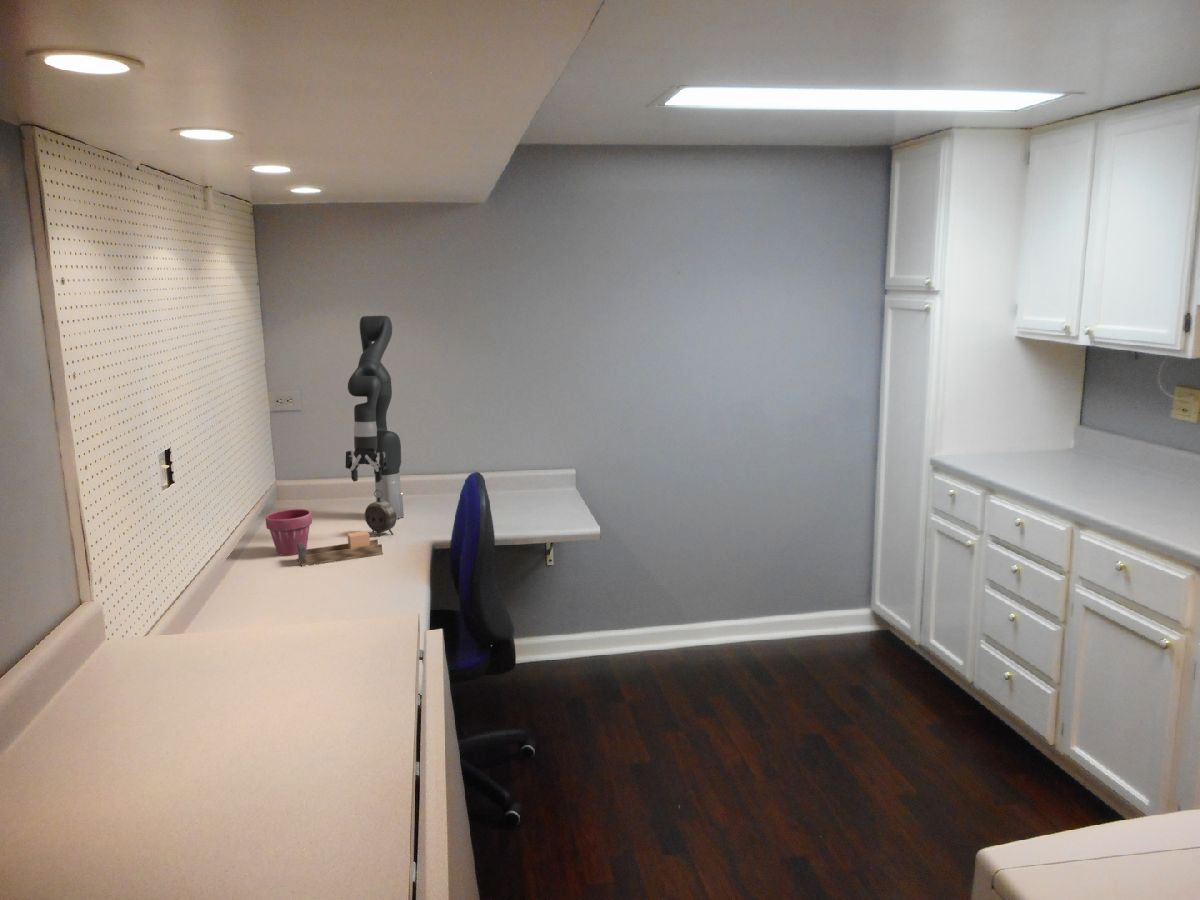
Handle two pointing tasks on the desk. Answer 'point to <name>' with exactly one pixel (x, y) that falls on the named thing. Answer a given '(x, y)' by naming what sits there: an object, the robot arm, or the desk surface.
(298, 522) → the plant pot
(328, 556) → the walnut chute
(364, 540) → the terracotta block
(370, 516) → the alarm clock
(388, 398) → the robot arm
